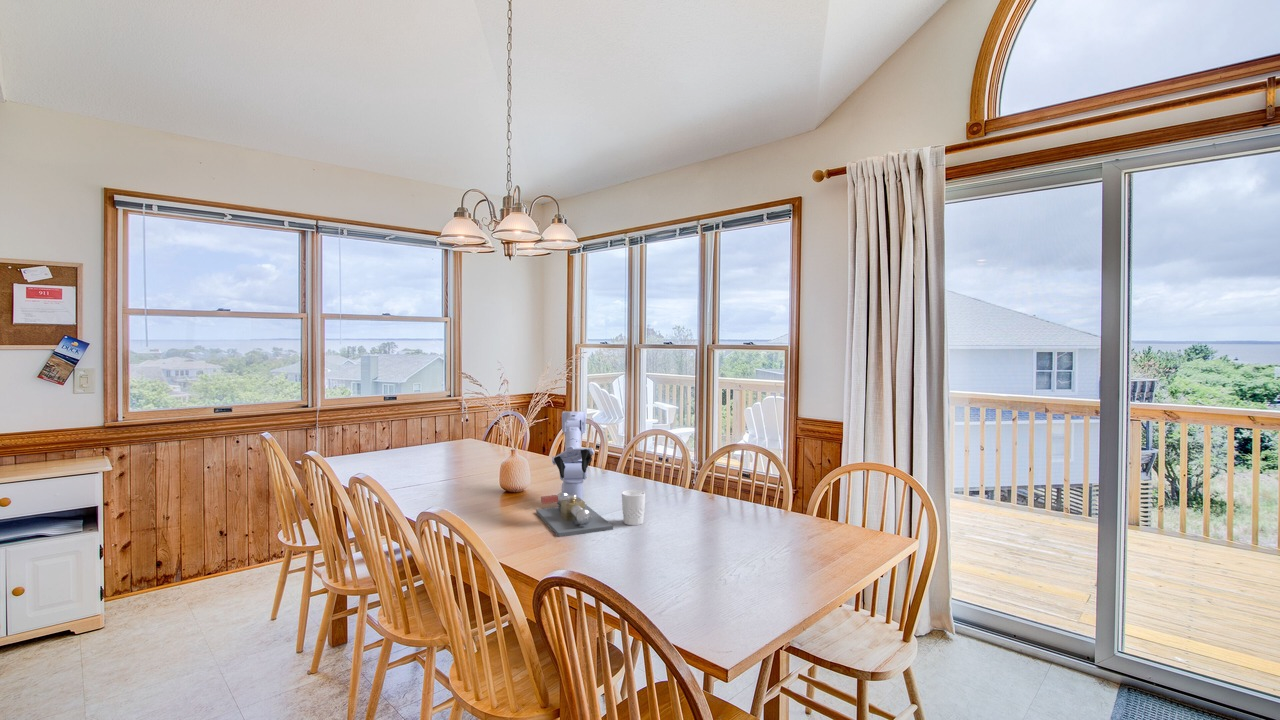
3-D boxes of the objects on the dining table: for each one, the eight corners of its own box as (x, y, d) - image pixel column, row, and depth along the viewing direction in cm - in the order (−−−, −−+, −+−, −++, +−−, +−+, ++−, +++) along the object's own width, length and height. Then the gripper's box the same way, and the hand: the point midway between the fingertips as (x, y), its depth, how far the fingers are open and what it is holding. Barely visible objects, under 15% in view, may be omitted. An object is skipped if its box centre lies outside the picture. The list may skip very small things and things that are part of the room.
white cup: (645, 526, 189) (645, 495, 189) (621, 526, 189) (621, 495, 189) (645, 519, 197) (645, 489, 196) (622, 518, 197) (622, 489, 197)
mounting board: (536, 512, 204) (536, 509, 204) (584, 506, 211) (584, 503, 211) (558, 537, 178) (558, 533, 178) (612, 529, 186) (612, 525, 185)
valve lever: (575, 497, 196) (575, 492, 196) (577, 499, 194) (577, 494, 194) (540, 501, 191) (540, 496, 191) (542, 503, 189) (542, 498, 189)
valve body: (553, 508, 204) (553, 492, 204) (570, 506, 207) (570, 490, 207) (574, 529, 182) (574, 510, 182) (594, 526, 185) (594, 507, 184)
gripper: (549, 442, 202) (547, 470, 190) (589, 432, 200) (590, 459, 189) (556, 456, 206) (555, 484, 194) (595, 446, 204) (596, 474, 193)
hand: (572, 473), depth 192 cm, fingers open, 7 cm apart
